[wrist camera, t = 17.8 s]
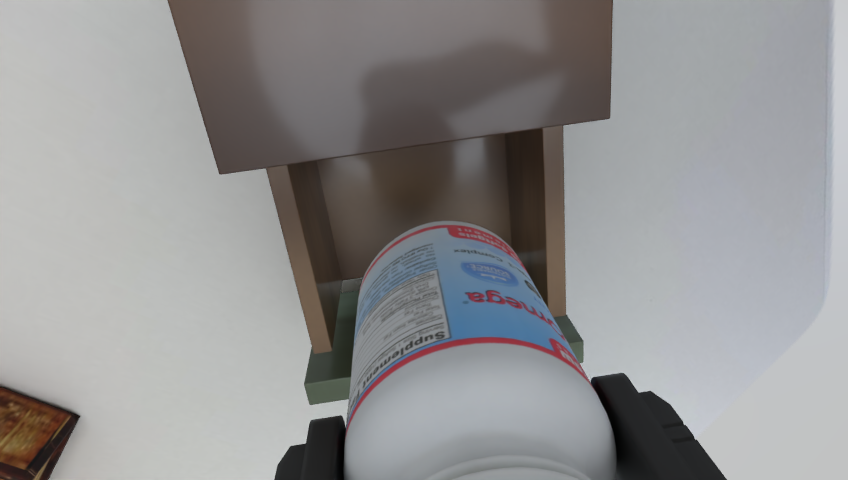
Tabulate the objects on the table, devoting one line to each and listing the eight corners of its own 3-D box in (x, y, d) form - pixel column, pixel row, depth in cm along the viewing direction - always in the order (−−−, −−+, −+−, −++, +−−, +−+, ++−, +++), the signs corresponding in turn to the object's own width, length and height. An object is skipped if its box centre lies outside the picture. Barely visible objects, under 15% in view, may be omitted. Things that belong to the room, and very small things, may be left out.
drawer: (537, 344, 32) (583, 438, 25) (340, 374, 32) (329, 478, 24) (522, -9, 24) (584, -21, 17) (258, 27, 23) (205, 31, 16)
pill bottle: (555, 296, 19) (762, 622, 9) (430, 387, 20) (481, 767, 10) (455, 178, 17) (572, 425, 7) (322, 287, 18) (246, 640, 8)
